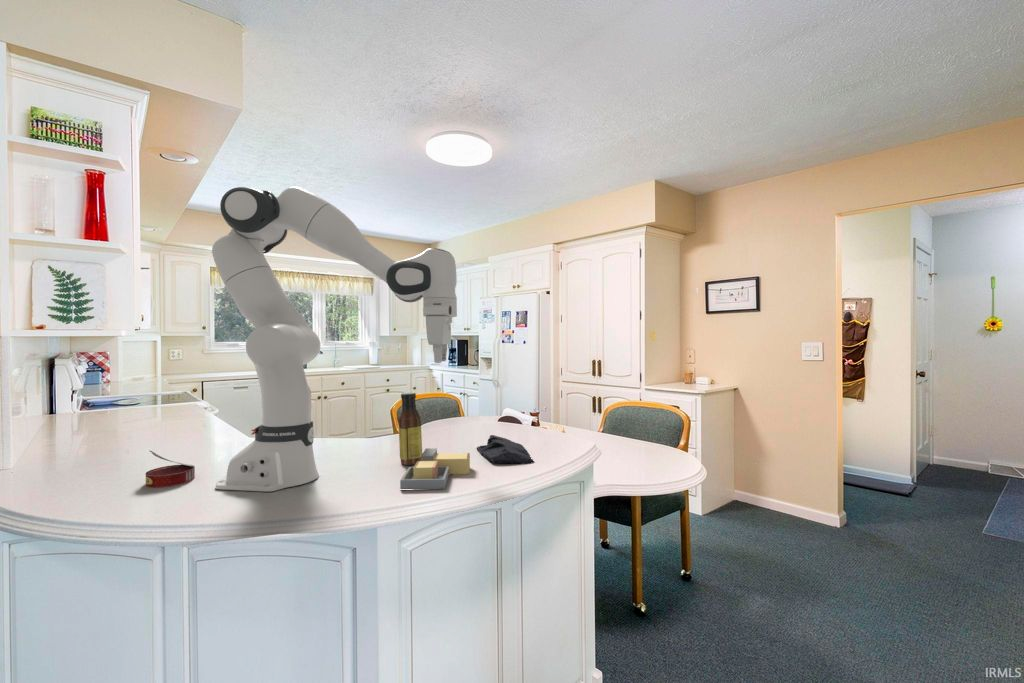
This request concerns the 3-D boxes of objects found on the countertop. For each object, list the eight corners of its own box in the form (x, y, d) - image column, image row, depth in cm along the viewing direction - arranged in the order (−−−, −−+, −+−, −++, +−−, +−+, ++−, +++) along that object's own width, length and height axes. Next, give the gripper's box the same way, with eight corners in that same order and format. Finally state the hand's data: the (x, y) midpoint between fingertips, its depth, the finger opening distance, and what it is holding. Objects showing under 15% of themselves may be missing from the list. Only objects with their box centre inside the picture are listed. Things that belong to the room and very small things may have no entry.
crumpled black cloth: (483, 468, 126) (483, 450, 126) (475, 449, 147) (475, 434, 147) (537, 465, 128) (537, 448, 128) (522, 447, 150) (522, 432, 150)
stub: (413, 484, 108) (413, 467, 108) (417, 477, 114) (417, 460, 114) (435, 484, 108) (434, 466, 108) (438, 476, 114) (437, 460, 114)
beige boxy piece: (421, 476, 117) (421, 455, 117) (425, 467, 125) (425, 448, 125) (468, 475, 117) (468, 455, 117) (470, 466, 125) (469, 447, 125)
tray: (400, 490, 105) (400, 480, 105) (409, 476, 117) (409, 466, 117) (444, 489, 106) (444, 479, 106) (449, 475, 117) (449, 466, 117)
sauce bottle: (425, 460, 132) (424, 391, 132) (418, 466, 126) (418, 394, 126) (403, 460, 133) (402, 391, 133) (395, 465, 127) (395, 394, 127)
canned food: (155, 498, 115) (159, 459, 120) (200, 490, 118) (203, 452, 122) (131, 490, 106) (136, 448, 110) (182, 481, 108) (185, 440, 112)
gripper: (433, 312, 132) (434, 360, 132) (421, 307, 112) (422, 363, 112) (455, 312, 133) (456, 360, 133) (447, 307, 112) (448, 363, 112)
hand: (440, 362), depth 122 cm, fingers open, 8 cm apart
